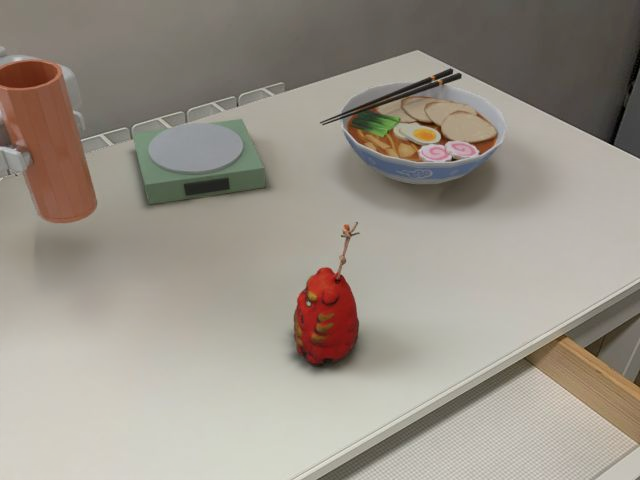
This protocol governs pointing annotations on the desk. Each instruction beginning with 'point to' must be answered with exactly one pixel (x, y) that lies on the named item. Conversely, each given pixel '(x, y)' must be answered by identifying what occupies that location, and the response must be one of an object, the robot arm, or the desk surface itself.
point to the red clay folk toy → (327, 314)
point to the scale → (198, 161)
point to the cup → (47, 139)
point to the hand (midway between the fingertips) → (54, 142)
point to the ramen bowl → (422, 129)
